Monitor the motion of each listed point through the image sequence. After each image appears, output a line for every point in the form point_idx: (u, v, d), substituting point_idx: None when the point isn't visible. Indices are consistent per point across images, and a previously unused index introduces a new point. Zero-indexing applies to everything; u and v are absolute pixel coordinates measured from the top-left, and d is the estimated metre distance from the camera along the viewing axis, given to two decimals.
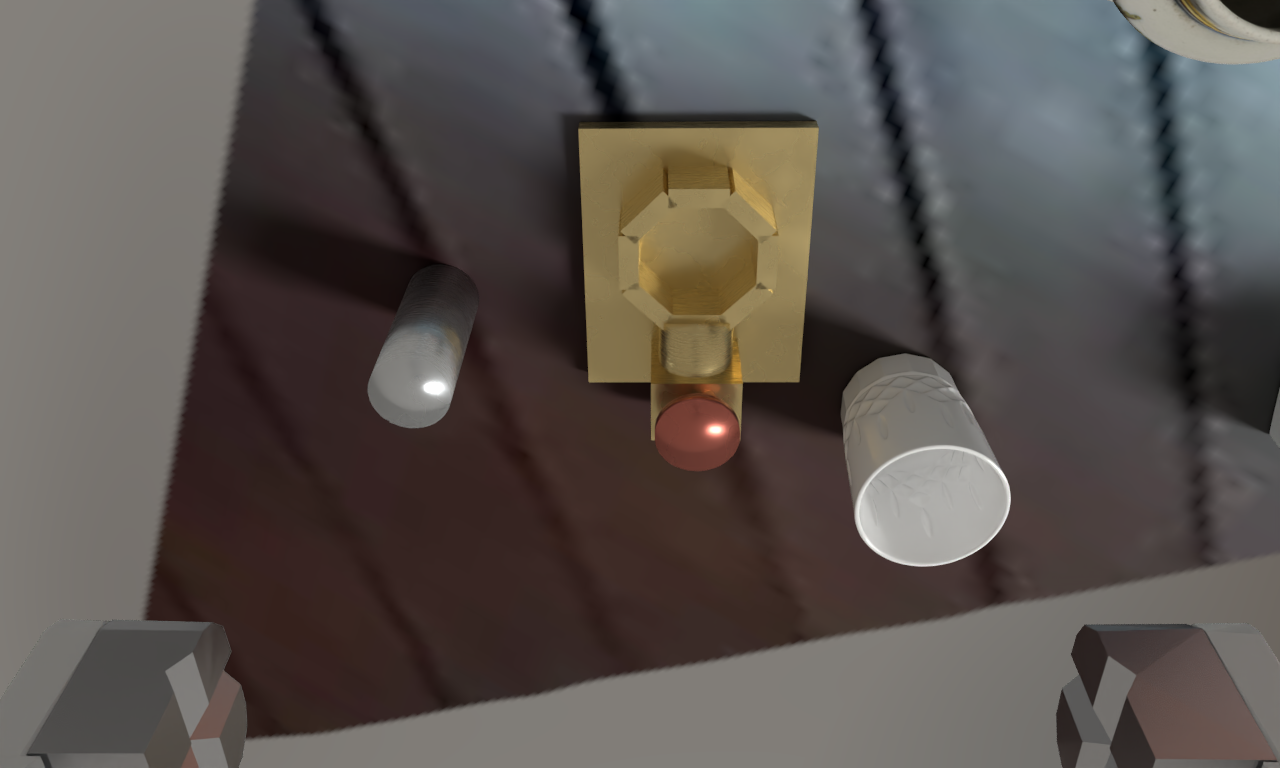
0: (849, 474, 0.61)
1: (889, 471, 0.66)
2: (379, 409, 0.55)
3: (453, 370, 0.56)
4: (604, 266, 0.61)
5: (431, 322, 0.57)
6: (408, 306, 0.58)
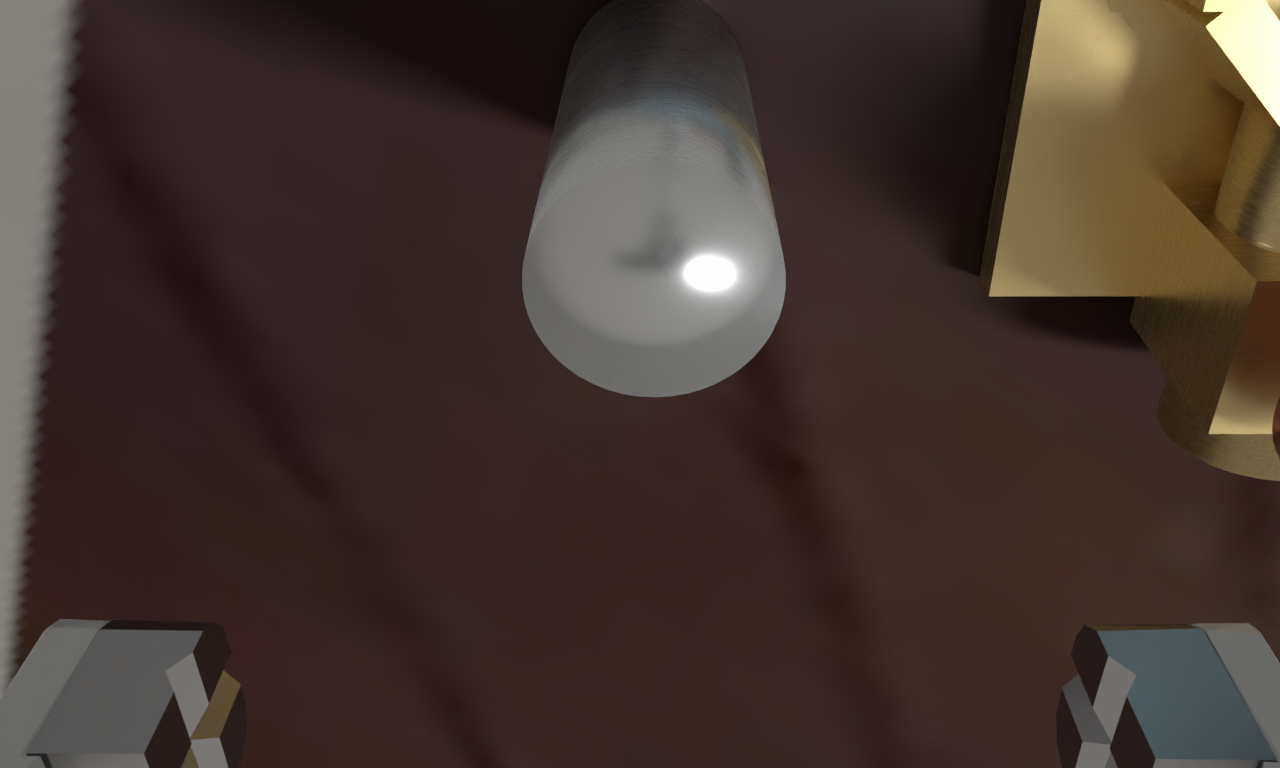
0: None
1: None
2: (553, 338, 0.18)
3: (775, 220, 0.18)
4: None
5: (692, 86, 0.19)
6: (609, 60, 0.21)
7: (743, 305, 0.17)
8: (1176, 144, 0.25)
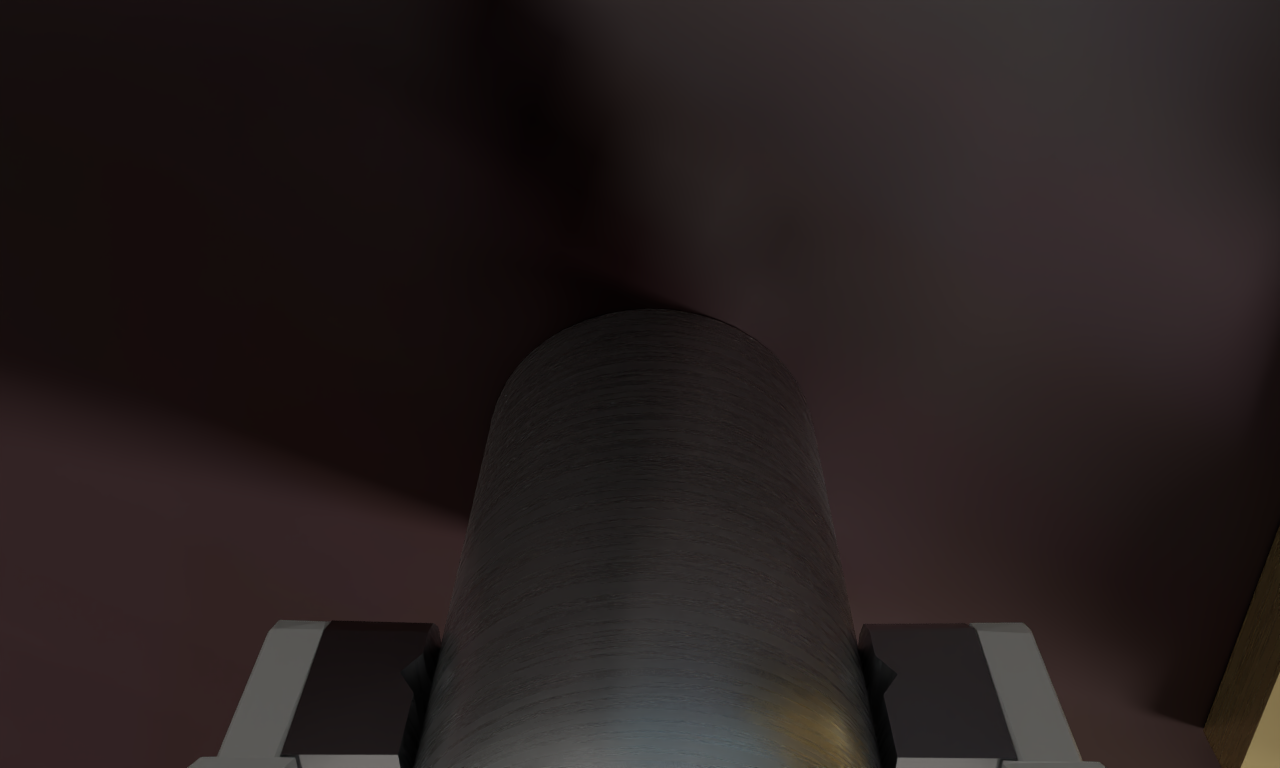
0: None
1: None
2: None
3: None
4: None
5: (739, 767, 0.08)
6: (543, 593, 0.09)
7: None
8: None
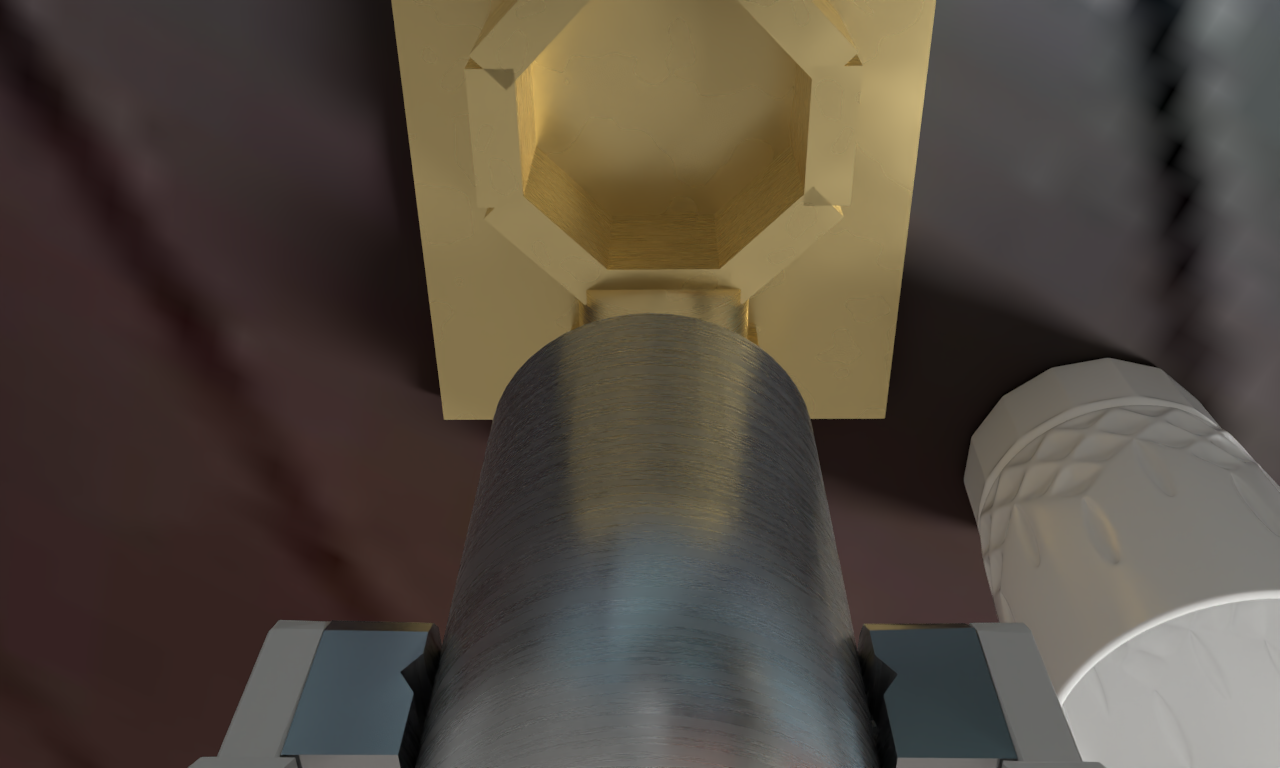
0: None
1: None
2: None
3: None
4: (456, 164, 0.27)
5: None
6: (542, 599, 0.09)
7: None
8: (567, 294, 0.29)
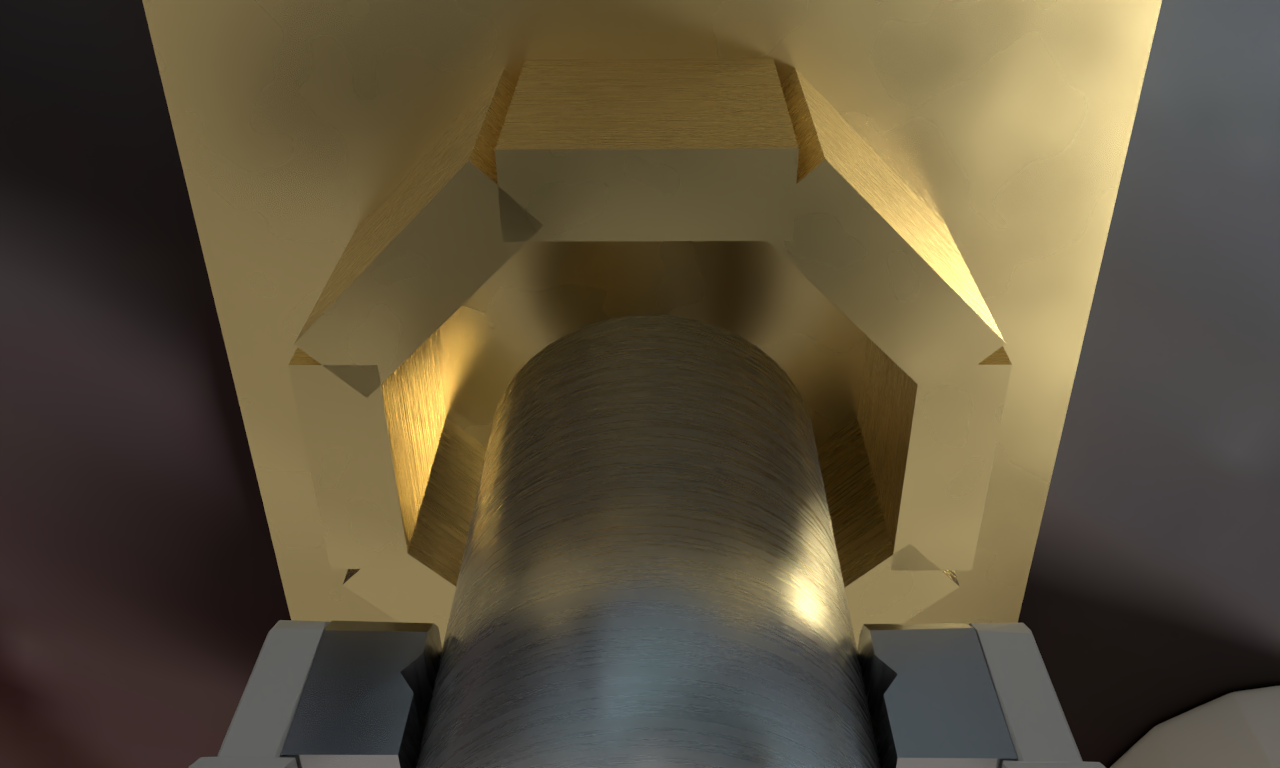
0: None
1: None
2: None
3: None
4: None
5: None
6: (543, 601, 0.09)
7: None
8: None
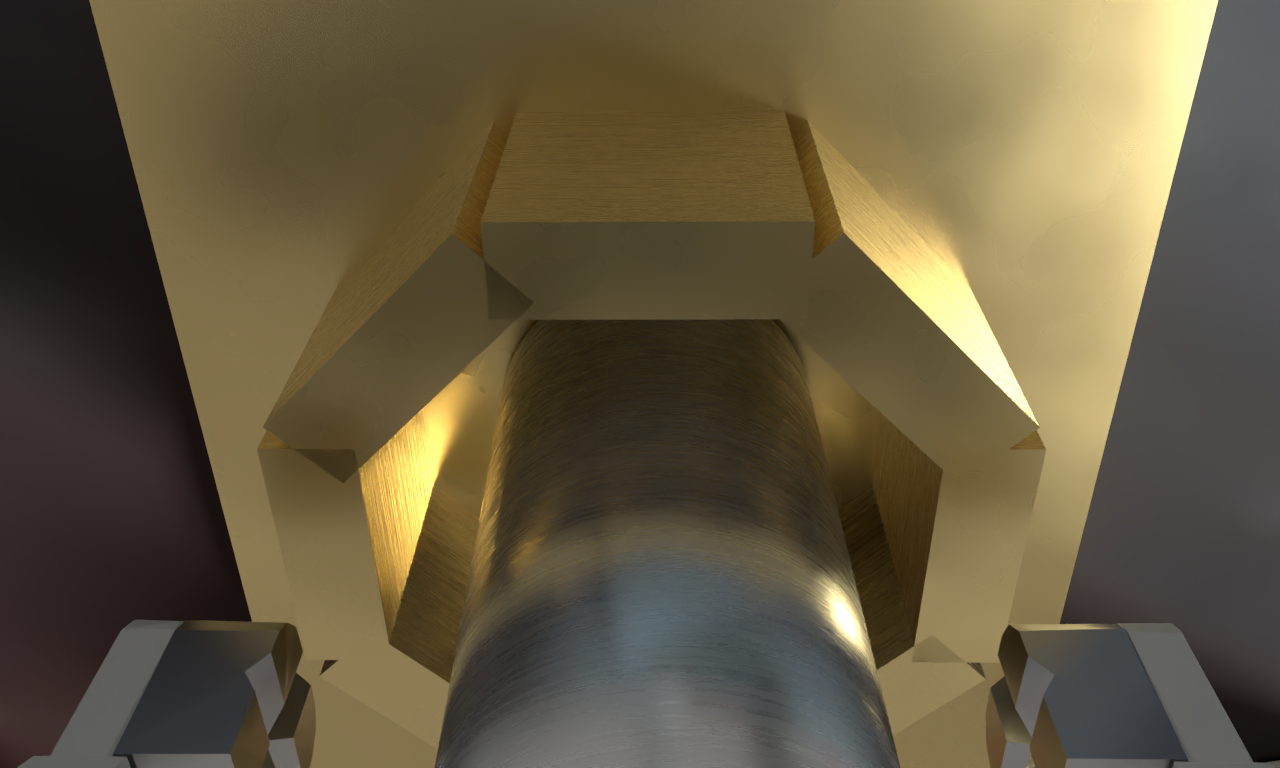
0: None
1: None
2: None
3: None
4: None
5: (755, 671, 0.08)
6: (566, 528, 0.10)
7: None
8: None
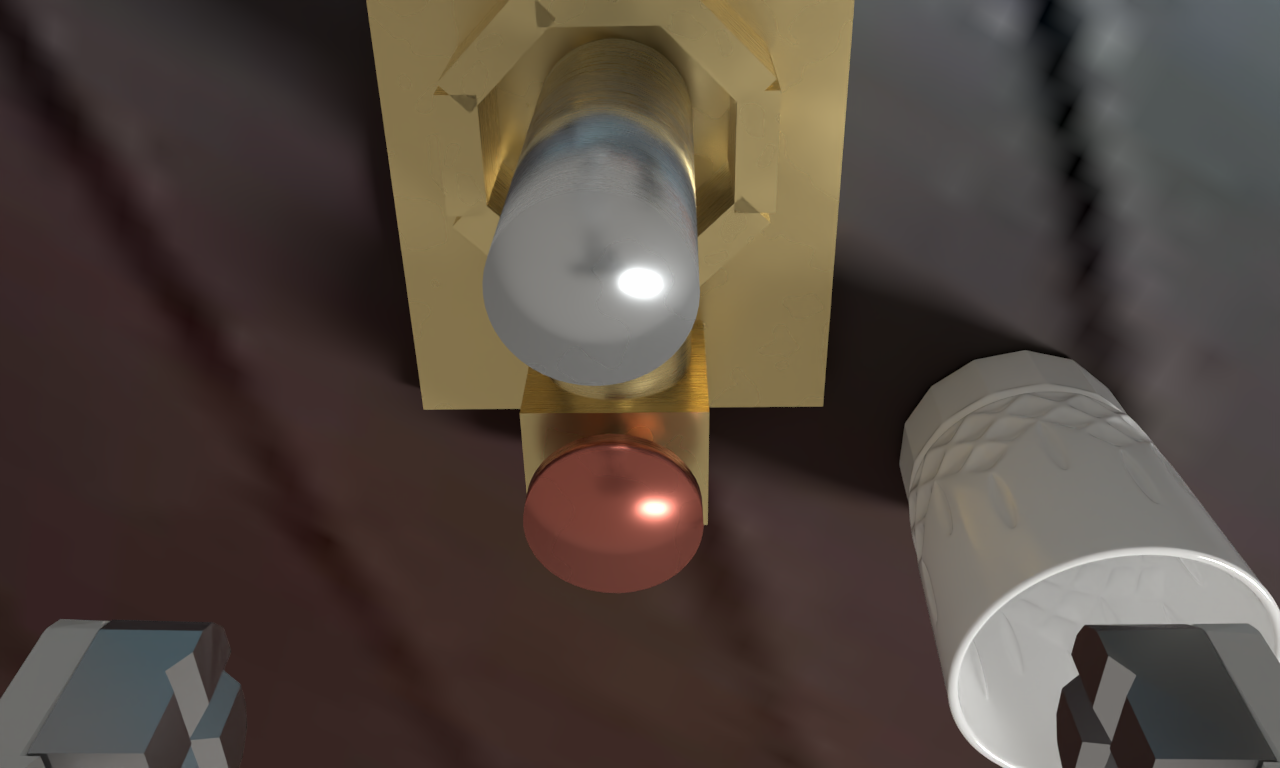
0: (929, 593, 0.30)
1: None
2: (510, 337, 0.21)
3: (695, 237, 0.22)
4: (431, 178, 0.30)
5: (629, 126, 0.23)
6: (563, 103, 0.25)
7: (666, 308, 0.21)
8: None
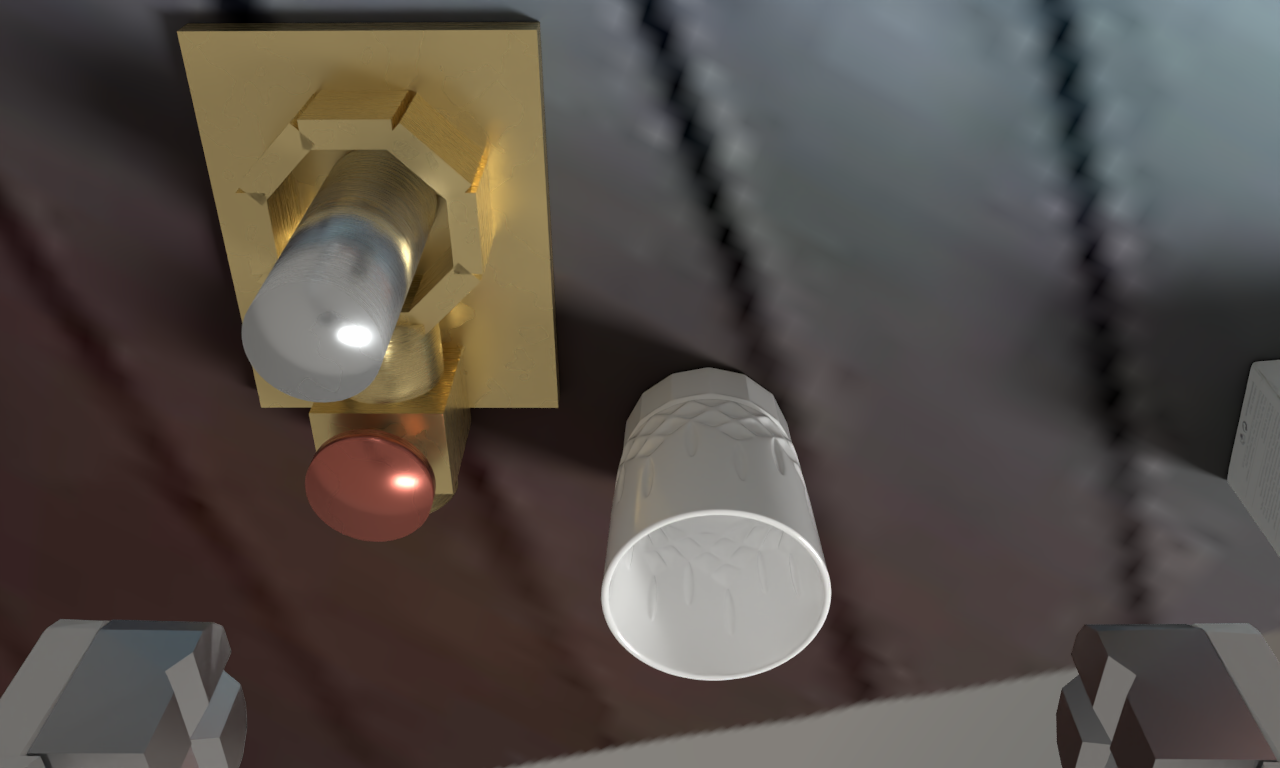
0: None
1: (691, 533, 0.47)
2: (264, 372, 0.33)
3: (387, 305, 0.33)
4: None
5: (351, 227, 0.34)
6: (317, 206, 0.36)
7: (362, 353, 0.33)
8: None
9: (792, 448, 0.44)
